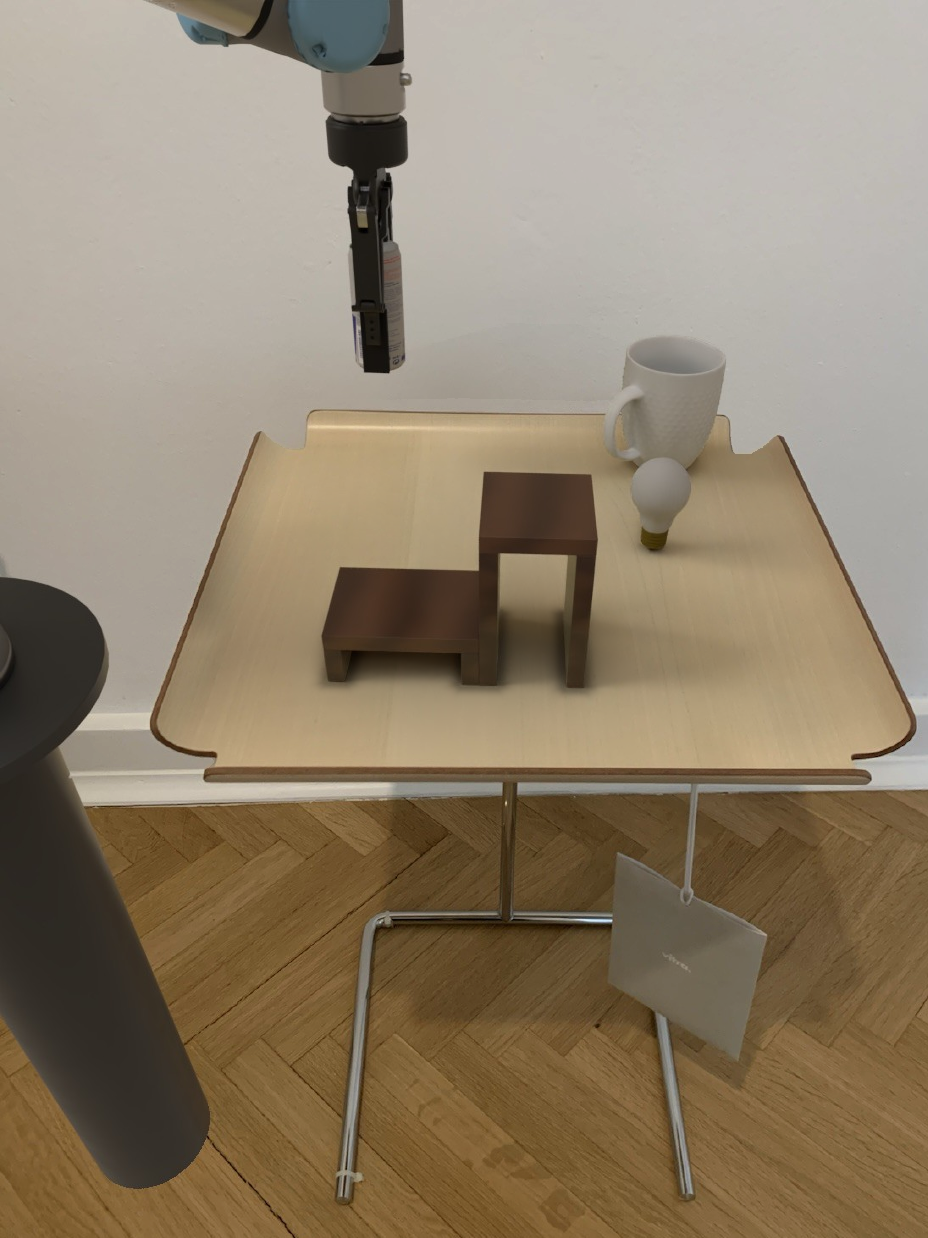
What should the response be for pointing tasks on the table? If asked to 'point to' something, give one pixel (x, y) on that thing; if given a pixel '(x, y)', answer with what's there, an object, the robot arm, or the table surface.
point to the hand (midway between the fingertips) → (380, 359)
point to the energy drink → (392, 304)
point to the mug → (666, 399)
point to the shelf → (474, 583)
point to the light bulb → (659, 498)
